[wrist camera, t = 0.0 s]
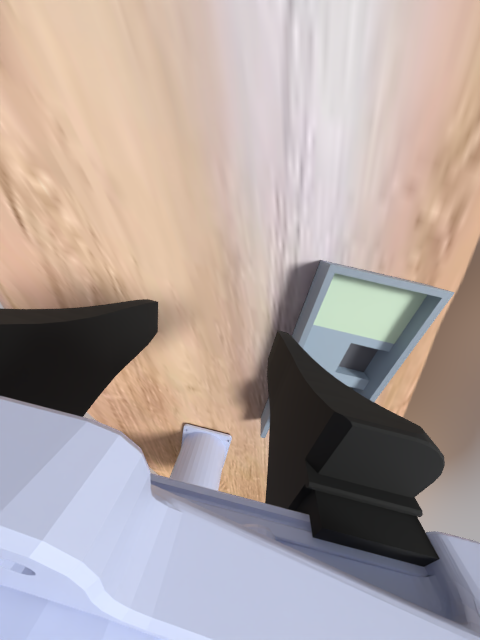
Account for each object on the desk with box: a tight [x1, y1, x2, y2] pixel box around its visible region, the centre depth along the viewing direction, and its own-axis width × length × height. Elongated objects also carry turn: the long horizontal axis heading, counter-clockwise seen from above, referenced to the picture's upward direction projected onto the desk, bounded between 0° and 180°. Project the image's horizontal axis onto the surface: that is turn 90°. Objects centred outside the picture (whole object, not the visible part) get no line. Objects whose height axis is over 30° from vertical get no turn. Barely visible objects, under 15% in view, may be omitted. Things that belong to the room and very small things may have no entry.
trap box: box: [261, 260, 454, 438], centre depth 21 cm, size 23×10×3 cm, turn 168°
